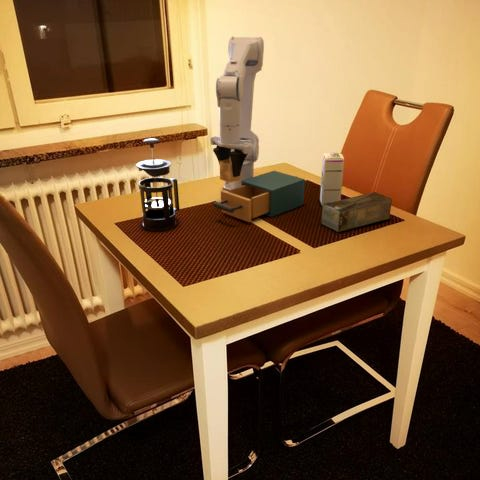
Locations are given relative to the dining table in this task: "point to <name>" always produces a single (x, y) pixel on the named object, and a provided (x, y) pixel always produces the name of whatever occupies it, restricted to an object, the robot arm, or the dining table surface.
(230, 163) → the block
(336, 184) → the syrup box
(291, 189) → the cabinet
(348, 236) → the dining table surface
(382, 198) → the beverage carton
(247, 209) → the drawer
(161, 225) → the french press
